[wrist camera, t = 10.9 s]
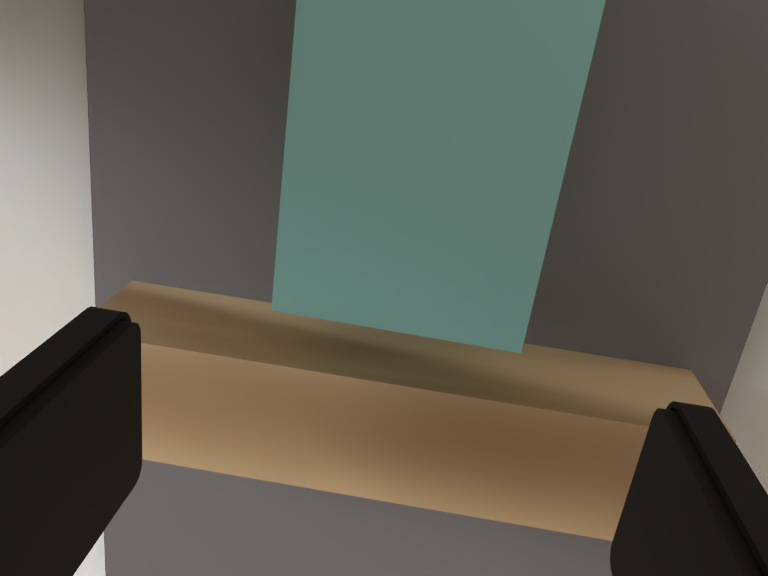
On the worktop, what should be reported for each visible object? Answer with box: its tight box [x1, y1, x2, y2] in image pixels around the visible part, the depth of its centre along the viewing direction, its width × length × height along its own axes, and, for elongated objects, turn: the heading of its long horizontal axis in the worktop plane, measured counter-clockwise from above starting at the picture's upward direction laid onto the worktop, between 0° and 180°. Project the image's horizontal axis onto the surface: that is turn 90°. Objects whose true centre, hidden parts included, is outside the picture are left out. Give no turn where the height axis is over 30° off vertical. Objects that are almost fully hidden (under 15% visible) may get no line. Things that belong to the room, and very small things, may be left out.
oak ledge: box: [100, 281, 736, 541], centre depth 16 cm, size 3×14×3 cm, turn 83°
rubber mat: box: [84, 0, 768, 576], centre depth 18 cm, size 20×16×1 cm
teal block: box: [271, 0, 606, 353], centre depth 13 cm, size 4×4×8 cm
